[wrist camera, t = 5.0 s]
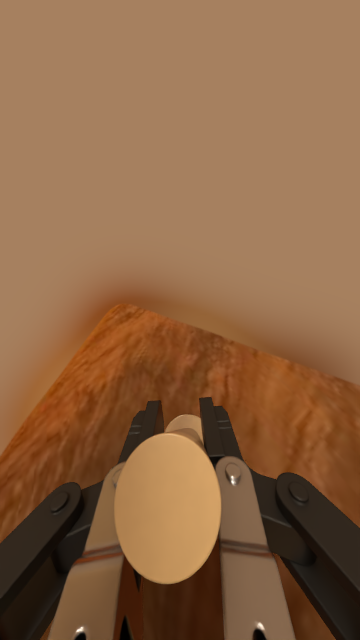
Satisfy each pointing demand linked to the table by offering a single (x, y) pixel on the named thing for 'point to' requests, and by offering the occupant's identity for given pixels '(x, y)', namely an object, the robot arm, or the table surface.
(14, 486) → the table surface
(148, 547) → the stick
